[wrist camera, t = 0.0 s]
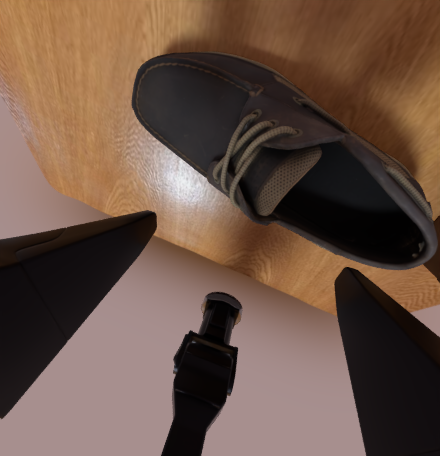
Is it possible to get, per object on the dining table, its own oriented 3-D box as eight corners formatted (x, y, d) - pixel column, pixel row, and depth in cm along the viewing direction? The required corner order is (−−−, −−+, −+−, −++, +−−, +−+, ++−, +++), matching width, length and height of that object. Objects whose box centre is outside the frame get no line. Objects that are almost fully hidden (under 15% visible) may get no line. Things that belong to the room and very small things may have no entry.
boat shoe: (167, 23, 17) (53, -79, 8) (452, 154, 17) (651, 196, 8) (151, 140, 23) (75, 154, 14) (360, 239, 23) (414, 316, 14)
